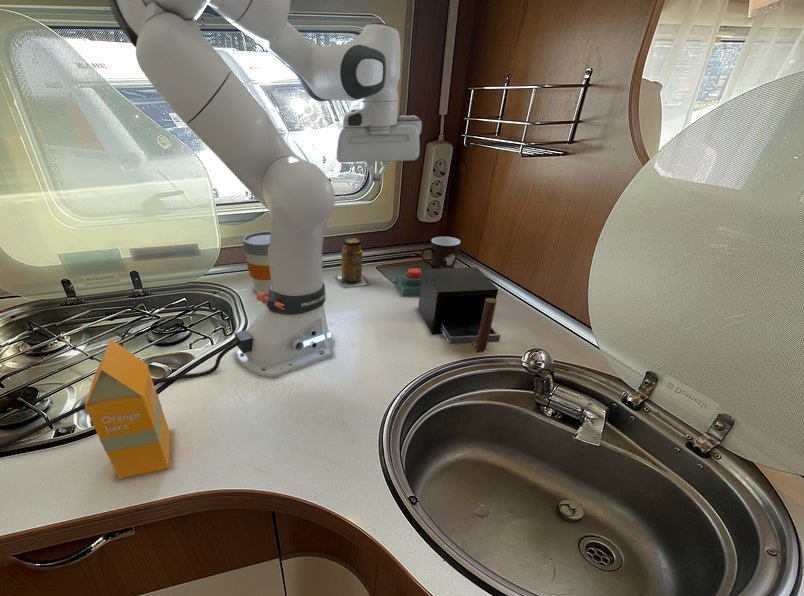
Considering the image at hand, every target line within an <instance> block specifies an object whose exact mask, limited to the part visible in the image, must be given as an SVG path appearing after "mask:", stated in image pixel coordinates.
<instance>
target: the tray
mask: <svg viewBox="0 0 804 596" xmlns="http://www.w3.org/2000/svg"><path fill="white" fill-rule="evenodd" d="M497 302H498V300H497V298H496V299H493V298H487V299H485V304H484V308H483V313H479V316H478V317H472V318H452V319H441V318H440V316H439V322H438V327H439V329H440V330H441V332H442V334H441V335H443V337H444V339H445V341H446V342H447V344H448V345H451V346H452V345H468V344H469V345H471V346H472V348H473V349H474V351H475V352H476V353H478V354H479V353H485V351H486V350H487V347H488V343H500V339H501V333H499V332H498V331H497V330H496V329H495V327H494V326H493V325H492V324H493V321H494V316H495V311H496V307H497Z"/></svg>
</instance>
